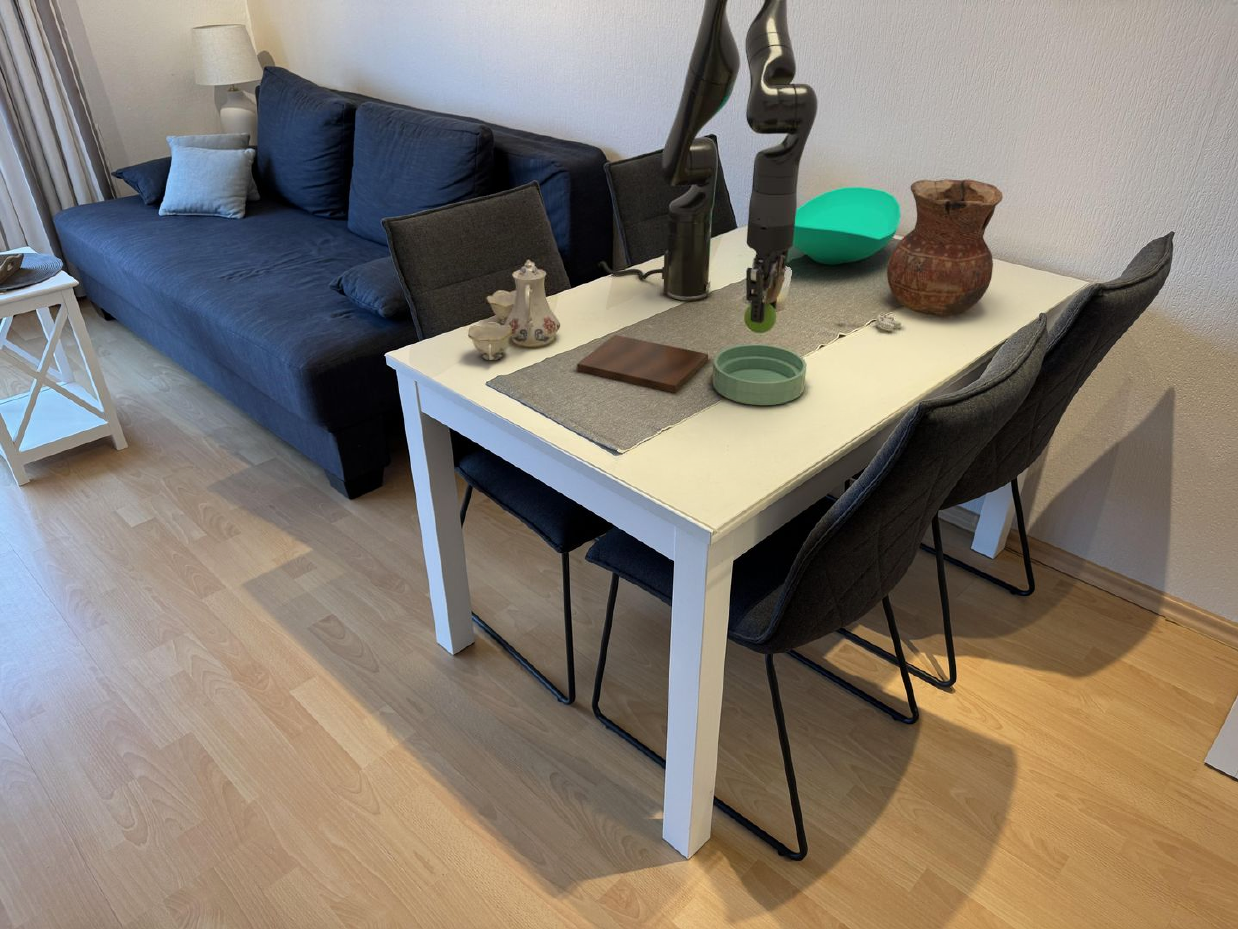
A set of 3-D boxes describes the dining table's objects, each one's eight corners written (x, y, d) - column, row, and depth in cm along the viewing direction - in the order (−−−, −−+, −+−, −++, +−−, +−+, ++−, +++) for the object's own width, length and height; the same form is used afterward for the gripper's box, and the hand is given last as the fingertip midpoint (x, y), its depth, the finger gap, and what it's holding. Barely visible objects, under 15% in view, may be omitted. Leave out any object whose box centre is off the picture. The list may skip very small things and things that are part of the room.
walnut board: (577, 370, 163) (576, 363, 162) (615, 341, 174) (615, 334, 173) (674, 393, 155) (675, 385, 154) (708, 360, 166) (708, 353, 165)
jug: (973, 331, 177) (1000, 207, 164) (870, 312, 186) (888, 193, 173) (992, 296, 193) (1018, 180, 180) (897, 280, 202) (915, 169, 189)
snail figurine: (772, 341, 149) (779, 273, 142) (738, 333, 151) (742, 266, 145) (785, 330, 152) (792, 264, 146) (751, 323, 155) (756, 257, 149)
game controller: (904, 331, 177) (906, 319, 176) (850, 336, 175) (852, 324, 174) (892, 321, 182) (894, 309, 180) (839, 325, 180) (841, 313, 179)
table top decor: (847, 295, 194) (855, 236, 188) (740, 270, 209) (744, 214, 202) (916, 249, 221) (925, 196, 214) (817, 230, 236) (822, 180, 229)
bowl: (698, 394, 154) (699, 371, 152) (732, 359, 166) (733, 337, 164) (786, 414, 148) (789, 390, 145) (815, 376, 160) (818, 354, 158)
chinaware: (488, 319, 188) (473, 243, 180) (565, 310, 188) (553, 234, 179) (471, 376, 165) (452, 293, 156) (558, 367, 164) (545, 282, 155)
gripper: (765, 203, 148) (757, 297, 157) (733, 226, 137) (726, 326, 146) (808, 208, 145) (797, 305, 154) (779, 232, 134) (769, 334, 143)
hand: (763, 315), depth 150 cm, fingers closed on snail figurine, 5 cm apart
